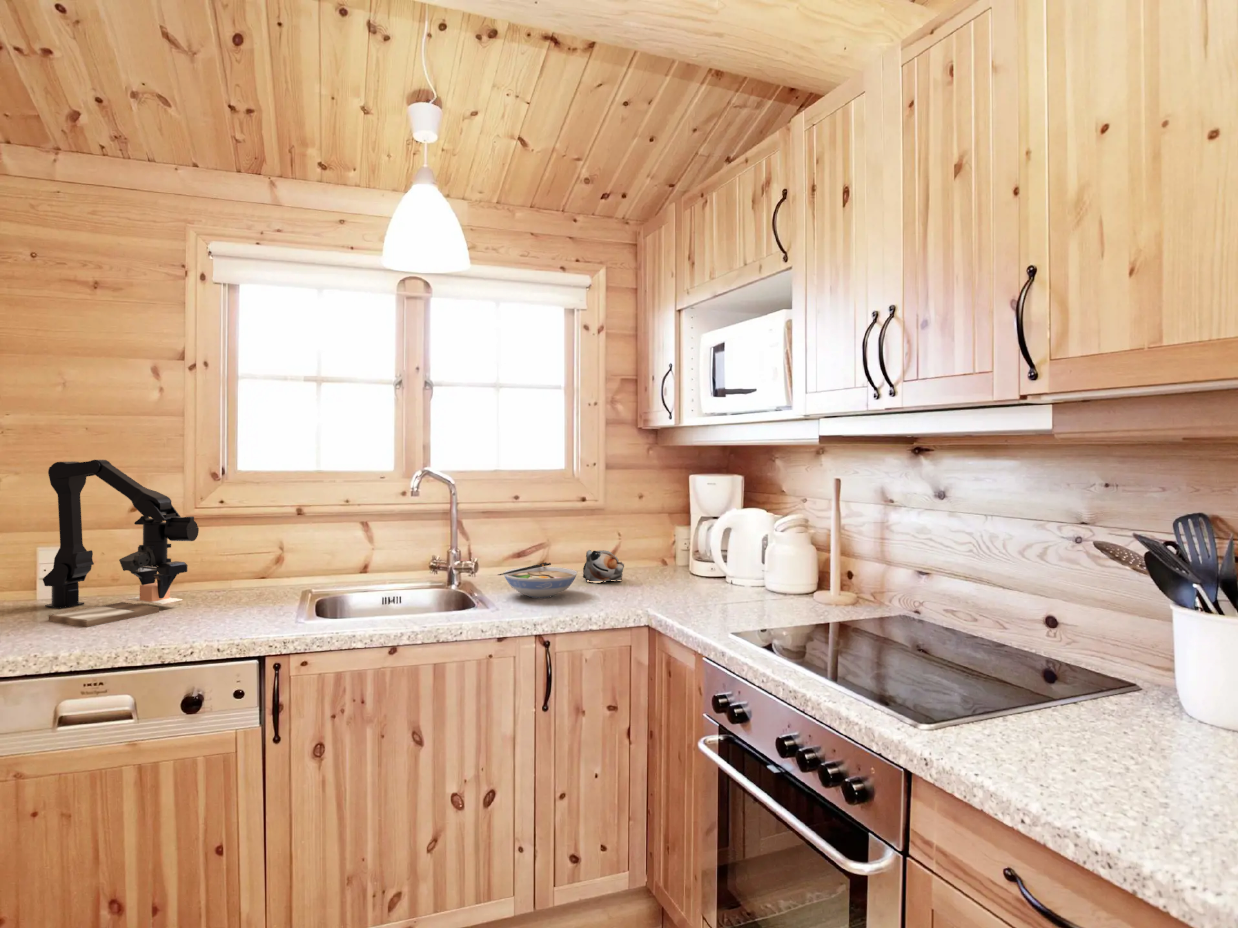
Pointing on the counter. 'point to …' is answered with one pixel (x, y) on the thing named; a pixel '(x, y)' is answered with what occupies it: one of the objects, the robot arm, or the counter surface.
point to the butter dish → (153, 595)
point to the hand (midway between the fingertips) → (154, 597)
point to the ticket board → (103, 614)
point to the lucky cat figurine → (602, 566)
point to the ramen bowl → (540, 580)
